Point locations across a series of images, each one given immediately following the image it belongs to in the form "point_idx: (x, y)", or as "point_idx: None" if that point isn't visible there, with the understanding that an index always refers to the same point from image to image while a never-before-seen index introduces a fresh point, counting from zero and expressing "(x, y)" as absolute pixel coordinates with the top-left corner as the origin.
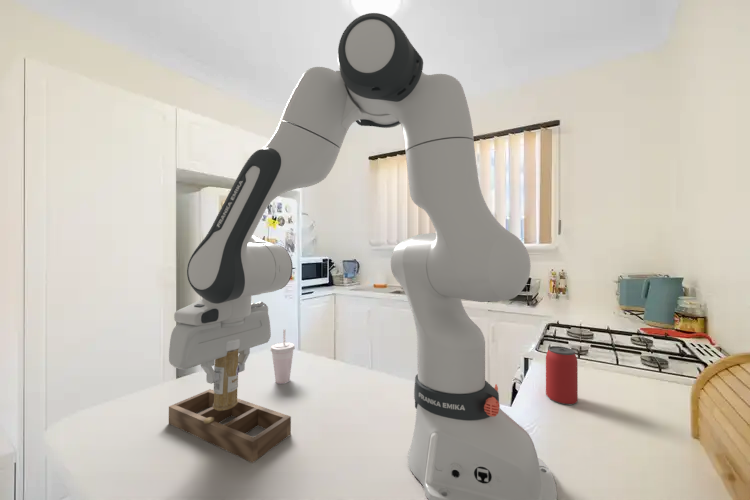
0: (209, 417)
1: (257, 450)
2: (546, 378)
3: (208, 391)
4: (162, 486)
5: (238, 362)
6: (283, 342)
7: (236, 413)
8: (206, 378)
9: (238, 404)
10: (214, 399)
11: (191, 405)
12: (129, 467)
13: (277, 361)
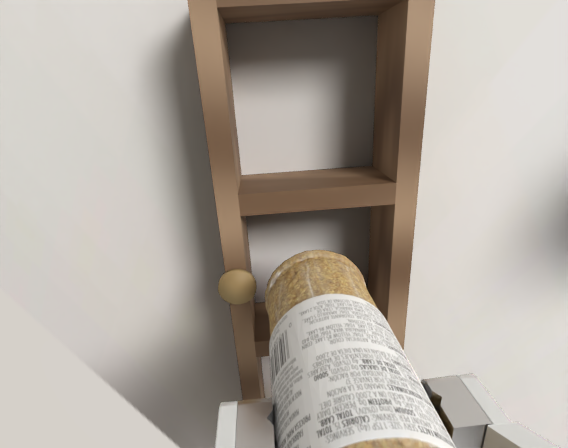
0: (246, 275)
1: None
2: None
3: None
4: (78, 333)
5: (484, 442)
6: None
7: (376, 215)
8: (218, 418)
9: (388, 242)
10: (271, 310)
11: (299, 9)
12: (22, 188)
13: None
